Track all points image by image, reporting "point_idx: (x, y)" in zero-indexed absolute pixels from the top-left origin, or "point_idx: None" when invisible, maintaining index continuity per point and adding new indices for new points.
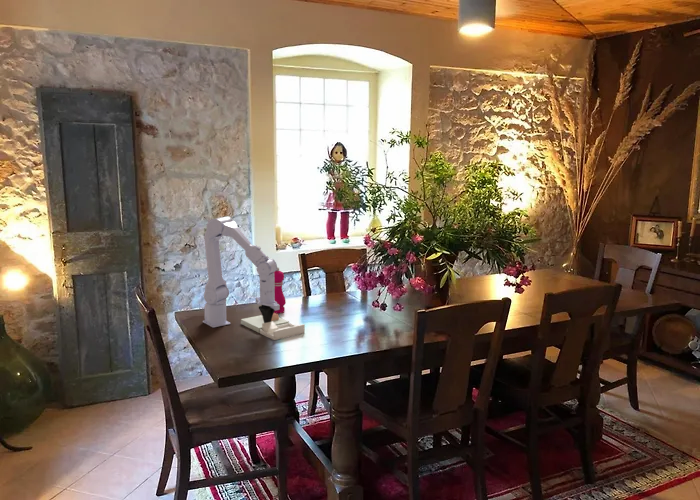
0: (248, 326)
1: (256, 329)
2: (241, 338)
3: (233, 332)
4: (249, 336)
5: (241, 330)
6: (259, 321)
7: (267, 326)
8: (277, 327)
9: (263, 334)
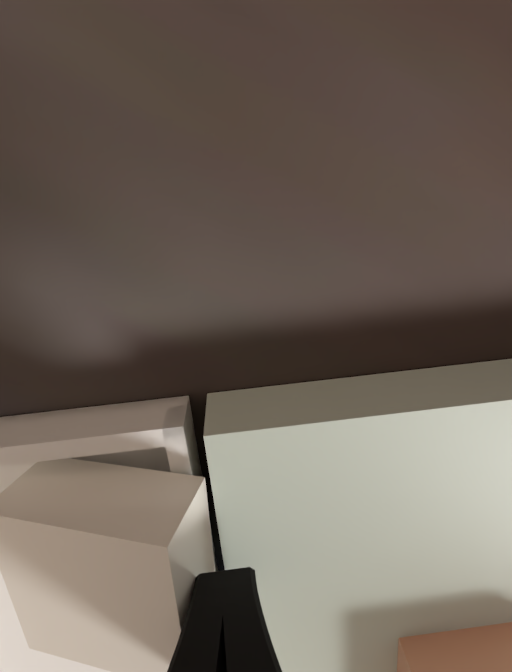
0: (506, 367)
1: (278, 401)
2: (71, 14)
3: (466, 41)
4: (118, 204)
5: (462, 220)
6: (483, 545)
7: (65, 559)
8: (31, 645)
9: (78, 412)
